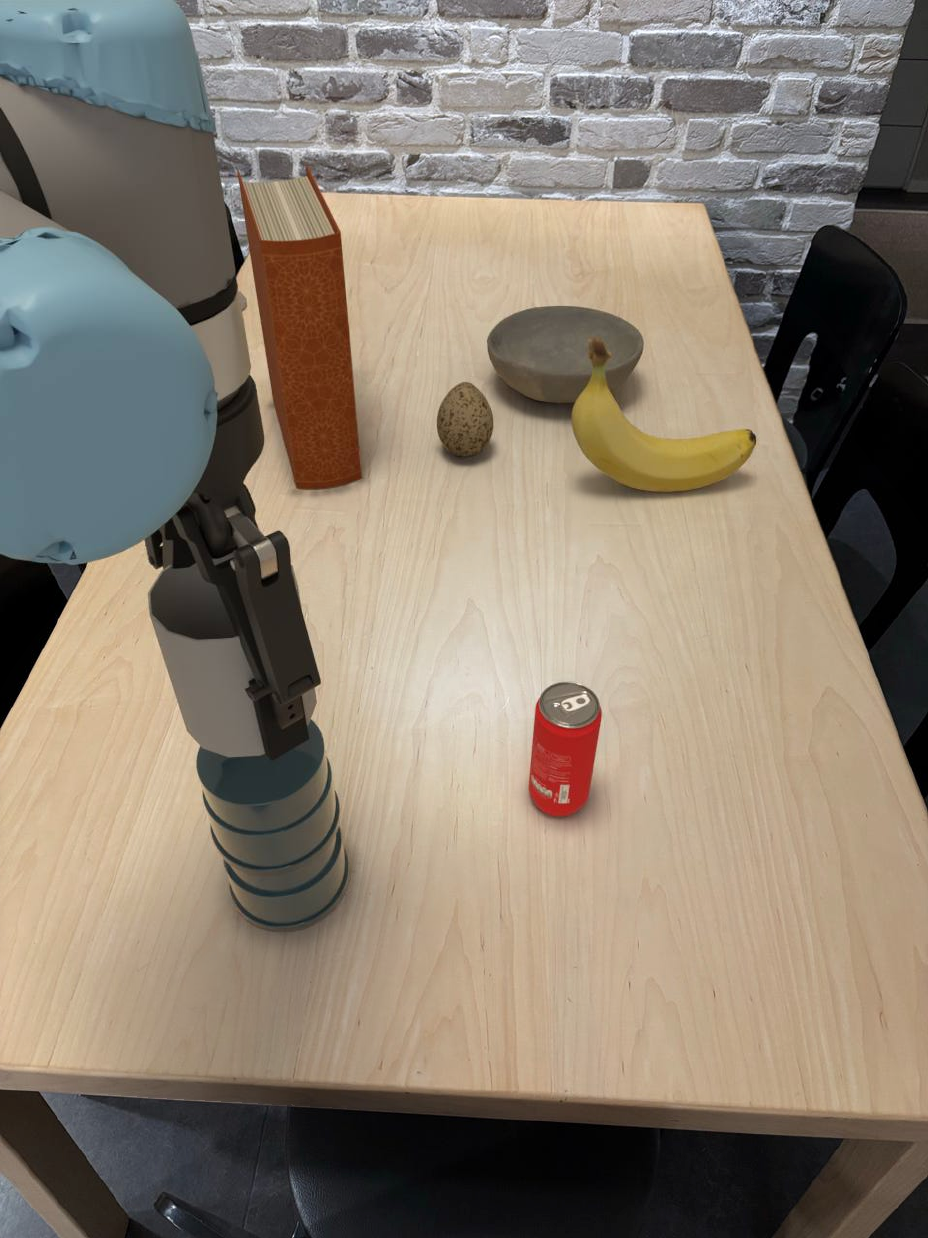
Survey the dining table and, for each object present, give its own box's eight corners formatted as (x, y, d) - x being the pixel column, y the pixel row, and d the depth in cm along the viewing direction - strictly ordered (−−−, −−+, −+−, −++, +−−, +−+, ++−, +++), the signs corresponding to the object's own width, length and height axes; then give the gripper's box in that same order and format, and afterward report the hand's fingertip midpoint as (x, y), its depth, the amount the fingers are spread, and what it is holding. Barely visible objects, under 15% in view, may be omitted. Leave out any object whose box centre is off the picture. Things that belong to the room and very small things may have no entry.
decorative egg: (501, 461, 116) (504, 391, 109) (448, 473, 114) (448, 402, 107) (479, 433, 121) (481, 364, 114) (429, 444, 119) (427, 374, 112)
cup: (160, 701, 59) (120, 585, 52) (267, 641, 63) (244, 525, 56) (231, 780, 54) (198, 664, 48) (342, 709, 58) (326, 593, 52)
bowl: (544, 444, 119) (549, 389, 113) (457, 377, 131) (457, 325, 126) (666, 399, 127) (675, 346, 122) (573, 340, 140) (578, 290, 134)
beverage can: (517, 783, 80) (524, 691, 71) (569, 763, 81) (582, 671, 73) (545, 829, 76) (556, 738, 68) (599, 808, 78) (615, 716, 70)
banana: (737, 467, 115) (775, 317, 101) (752, 494, 111) (794, 341, 97) (561, 477, 113) (575, 325, 100) (569, 505, 109) (585, 350, 95)
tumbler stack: (270, 956, 68) (234, 836, 57) (209, 870, 73) (165, 745, 62) (372, 884, 72) (357, 759, 61) (308, 808, 78) (283, 680, 67)
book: (272, 399, 127) (237, 170, 106) (331, 391, 128) (307, 164, 108) (297, 493, 111) (261, 244, 90) (363, 482, 112) (342, 235, 92)
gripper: (370, 452, 39) (395, 776, 54) (146, 288, 50) (220, 593, 66) (212, 521, 35) (287, 846, 51) (11, 327, 47) (122, 639, 63)
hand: (249, 702), depth 58 cm, fingers closed on cup, 8 cm apart
